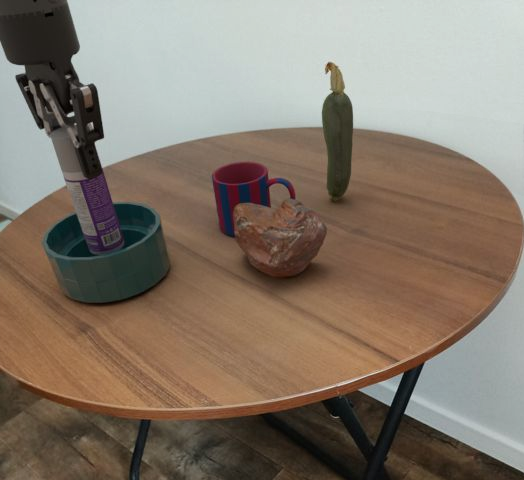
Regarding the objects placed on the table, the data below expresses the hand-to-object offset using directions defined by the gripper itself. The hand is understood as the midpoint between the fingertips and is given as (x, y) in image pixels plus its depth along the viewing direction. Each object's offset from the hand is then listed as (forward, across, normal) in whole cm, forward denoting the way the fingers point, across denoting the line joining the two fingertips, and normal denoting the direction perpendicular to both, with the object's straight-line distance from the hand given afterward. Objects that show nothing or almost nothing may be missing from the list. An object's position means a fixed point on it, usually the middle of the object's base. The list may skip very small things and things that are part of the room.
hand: (82, 170), depth 63 cm
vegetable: (+15, +12, +34) cm, 39 cm away
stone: (+15, +18, +13) cm, 27 cm away
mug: (+15, +7, +21) cm, 27 cm away
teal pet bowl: (+15, 0, 0) cm, 15 cm away
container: (+11, 0, 0) cm, 11 cm away
